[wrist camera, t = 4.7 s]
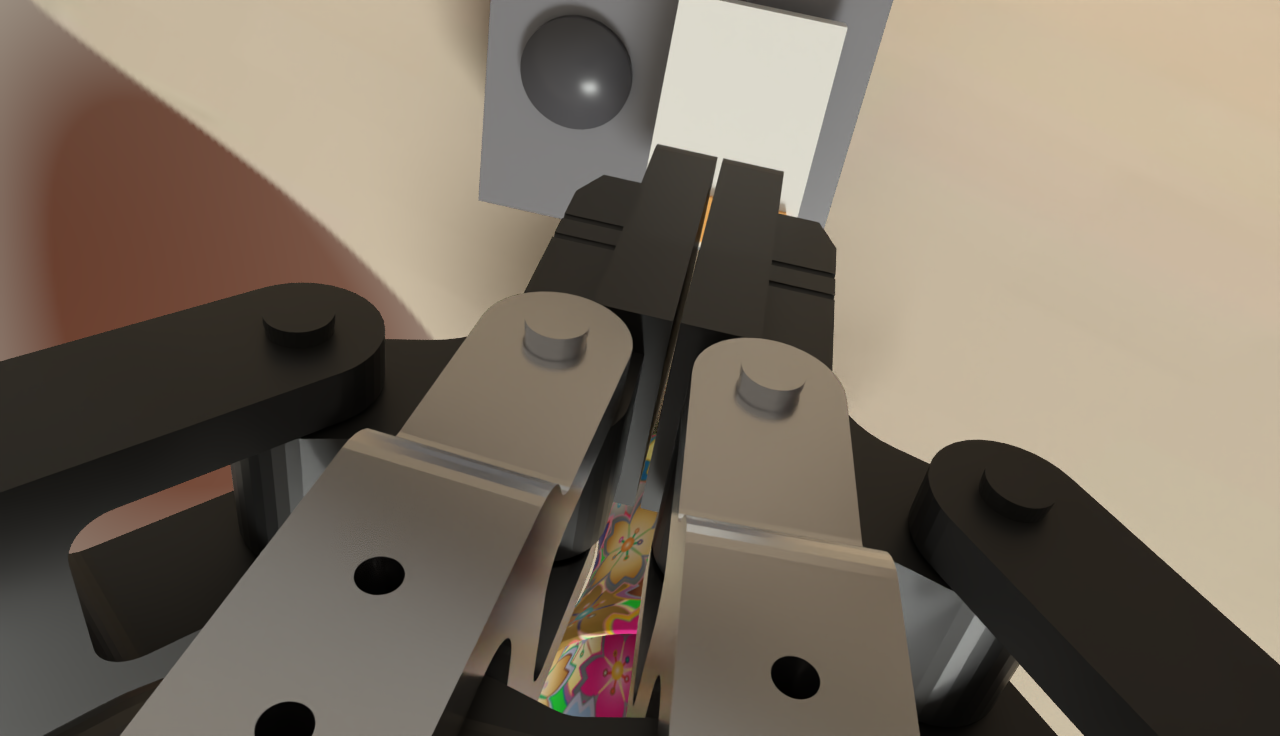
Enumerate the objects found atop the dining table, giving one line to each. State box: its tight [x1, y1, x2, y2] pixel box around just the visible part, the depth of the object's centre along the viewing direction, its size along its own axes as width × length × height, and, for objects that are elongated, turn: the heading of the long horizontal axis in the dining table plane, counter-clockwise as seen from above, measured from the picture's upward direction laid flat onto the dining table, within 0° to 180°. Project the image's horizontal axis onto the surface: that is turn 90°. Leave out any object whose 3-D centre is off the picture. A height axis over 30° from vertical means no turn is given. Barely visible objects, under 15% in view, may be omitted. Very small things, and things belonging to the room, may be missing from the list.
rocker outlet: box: [647, 0, 848, 247], centre depth 25 cm, size 6×4×1 cm, turn 171°
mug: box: [538, 434, 659, 717], centre depth 36 cm, size 12×9×11 cm
